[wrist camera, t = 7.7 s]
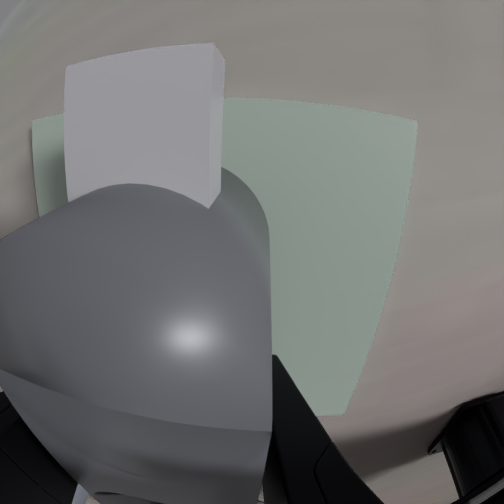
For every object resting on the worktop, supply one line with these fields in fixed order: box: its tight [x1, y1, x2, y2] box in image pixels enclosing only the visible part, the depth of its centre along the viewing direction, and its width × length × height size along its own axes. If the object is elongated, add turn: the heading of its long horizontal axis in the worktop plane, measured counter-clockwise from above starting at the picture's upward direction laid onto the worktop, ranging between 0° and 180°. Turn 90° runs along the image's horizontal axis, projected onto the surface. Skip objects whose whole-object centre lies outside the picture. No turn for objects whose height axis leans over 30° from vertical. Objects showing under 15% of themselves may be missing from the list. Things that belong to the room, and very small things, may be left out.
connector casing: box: [0, 43, 272, 504], centre depth 6 cm, size 12×4×6 cm, turn 177°
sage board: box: [32, 98, 418, 416], centre depth 11 cm, size 14×14×1 cm
